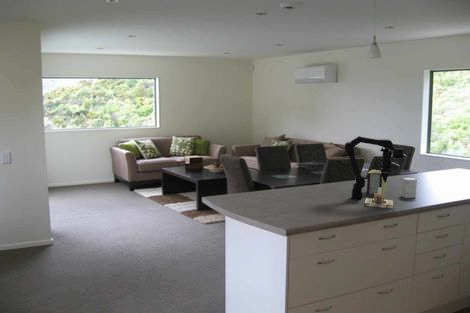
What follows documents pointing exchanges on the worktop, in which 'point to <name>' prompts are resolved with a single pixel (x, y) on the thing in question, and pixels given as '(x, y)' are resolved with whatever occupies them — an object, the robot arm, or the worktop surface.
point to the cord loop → (379, 195)
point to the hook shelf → (384, 205)
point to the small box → (408, 188)
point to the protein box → (375, 182)
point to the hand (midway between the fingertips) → (385, 181)
